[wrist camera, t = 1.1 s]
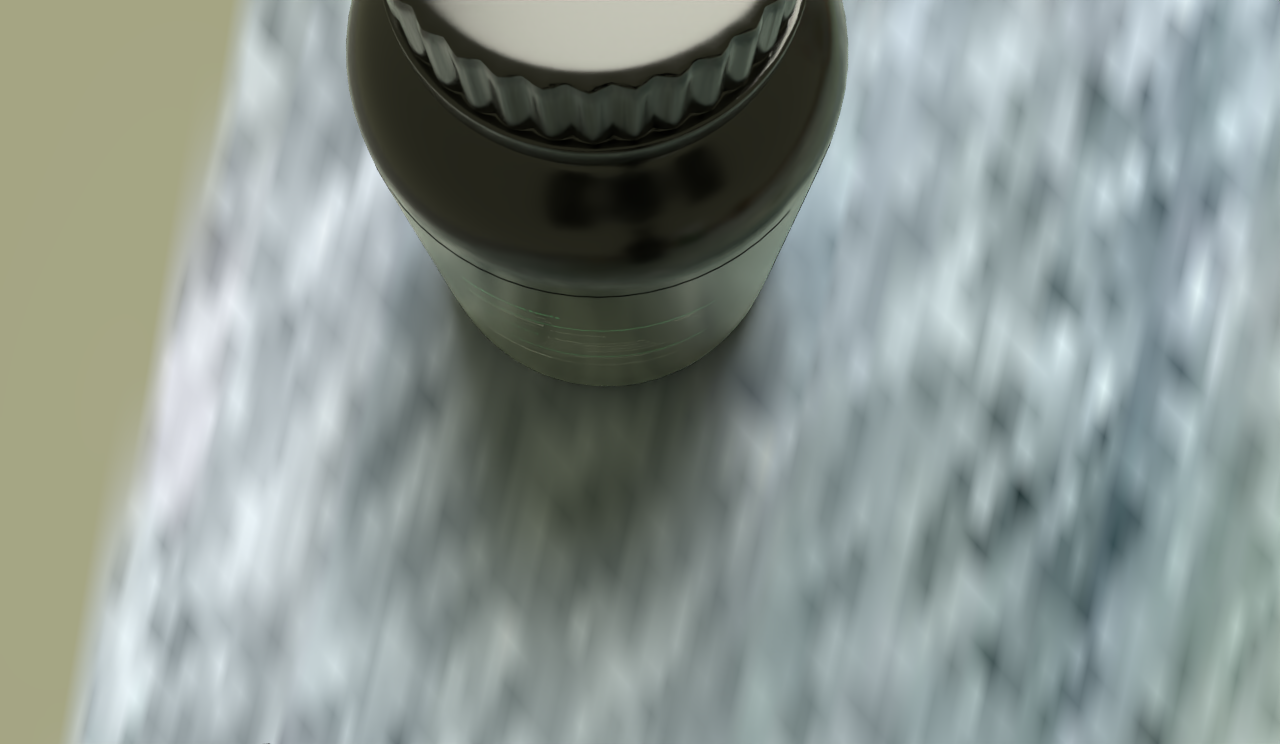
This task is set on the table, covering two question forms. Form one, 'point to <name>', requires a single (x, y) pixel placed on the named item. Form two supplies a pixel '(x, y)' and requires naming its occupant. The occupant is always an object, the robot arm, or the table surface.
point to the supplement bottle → (599, 161)
